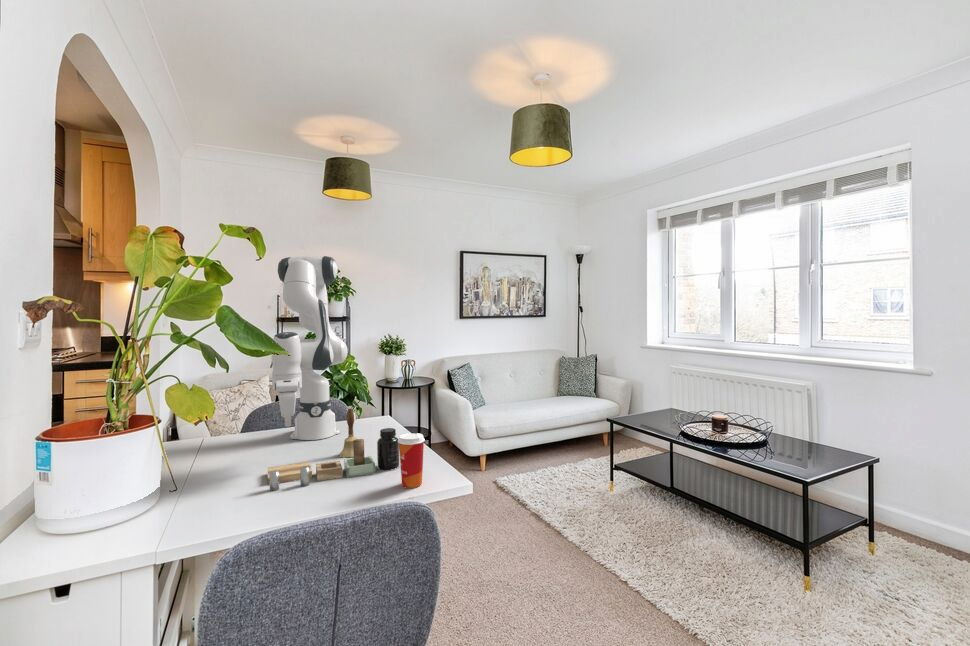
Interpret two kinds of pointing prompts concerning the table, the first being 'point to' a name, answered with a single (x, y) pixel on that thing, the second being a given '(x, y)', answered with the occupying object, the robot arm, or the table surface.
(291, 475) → the curved tan panel
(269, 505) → the table surface
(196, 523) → the table surface
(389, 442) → the supplement bottle
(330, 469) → the socket block
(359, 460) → the dowel
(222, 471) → the table surface
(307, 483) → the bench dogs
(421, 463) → the paper cup
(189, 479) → the table surface
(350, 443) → the hand bell
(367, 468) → the tray
